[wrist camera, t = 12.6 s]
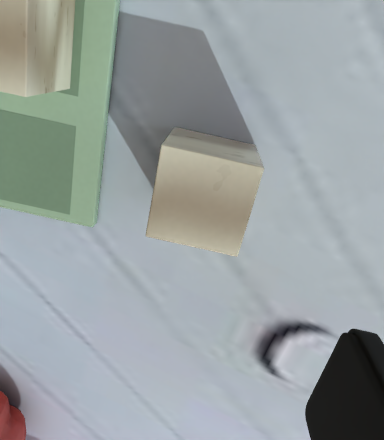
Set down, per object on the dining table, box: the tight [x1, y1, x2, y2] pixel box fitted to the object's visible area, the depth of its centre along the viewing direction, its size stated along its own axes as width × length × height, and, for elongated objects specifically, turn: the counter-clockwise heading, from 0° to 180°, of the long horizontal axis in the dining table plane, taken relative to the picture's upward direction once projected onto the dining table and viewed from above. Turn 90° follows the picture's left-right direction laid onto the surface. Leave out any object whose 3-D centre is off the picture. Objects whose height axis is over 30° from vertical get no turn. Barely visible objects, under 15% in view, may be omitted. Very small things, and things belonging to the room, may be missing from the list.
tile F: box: [146, 127, 264, 256], centre depth 20 cm, size 5×5×5 cm
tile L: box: [0, 0, 75, 97], centre depth 17 cm, size 5×5×5 cm
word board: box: [0, 0, 120, 227], centre depth 20 cm, size 22×9×1 cm, turn 168°
